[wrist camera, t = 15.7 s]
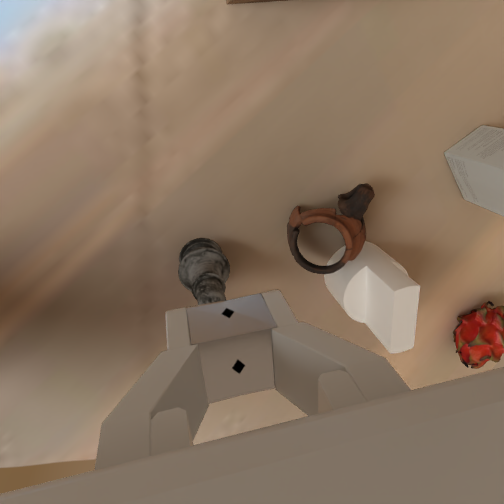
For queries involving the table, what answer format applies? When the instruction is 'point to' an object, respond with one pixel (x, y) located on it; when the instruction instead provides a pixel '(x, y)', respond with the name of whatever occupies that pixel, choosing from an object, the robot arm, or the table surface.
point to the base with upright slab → (377, 295)
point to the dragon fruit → (480, 336)
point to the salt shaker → (204, 270)
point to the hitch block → (248, 1)
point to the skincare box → (480, 167)
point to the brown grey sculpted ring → (347, 224)
